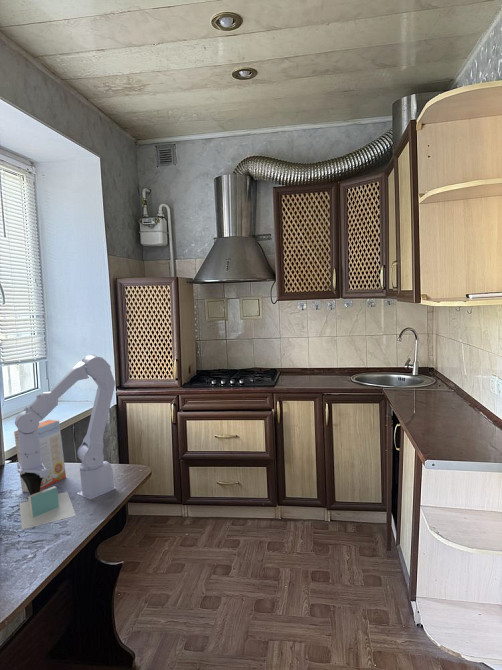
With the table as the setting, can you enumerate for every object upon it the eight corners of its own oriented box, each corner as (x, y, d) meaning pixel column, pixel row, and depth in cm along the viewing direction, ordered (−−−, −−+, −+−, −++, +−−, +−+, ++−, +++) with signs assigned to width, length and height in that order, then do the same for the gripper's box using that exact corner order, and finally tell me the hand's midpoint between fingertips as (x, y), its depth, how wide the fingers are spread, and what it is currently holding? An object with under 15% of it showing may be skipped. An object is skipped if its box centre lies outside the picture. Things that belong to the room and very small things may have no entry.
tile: (56, 505, 145) (54, 486, 144) (59, 506, 144) (56, 487, 143) (30, 516, 139) (28, 496, 138) (33, 517, 138) (30, 497, 137)
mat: (19, 504, 148) (19, 503, 148) (67, 492, 155) (67, 491, 155) (22, 531, 131) (21, 529, 131) (75, 516, 137) (75, 515, 137)
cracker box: (54, 476, 171) (48, 419, 169) (66, 478, 168) (60, 419, 166) (20, 492, 158) (13, 430, 156) (33, 494, 155) (26, 431, 153)
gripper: (5, 451, 144) (10, 495, 145) (28, 460, 135) (34, 506, 136) (28, 445, 150) (33, 486, 151) (52, 452, 141) (57, 496, 142)
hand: (35, 495), depth 144 cm, fingers closed
